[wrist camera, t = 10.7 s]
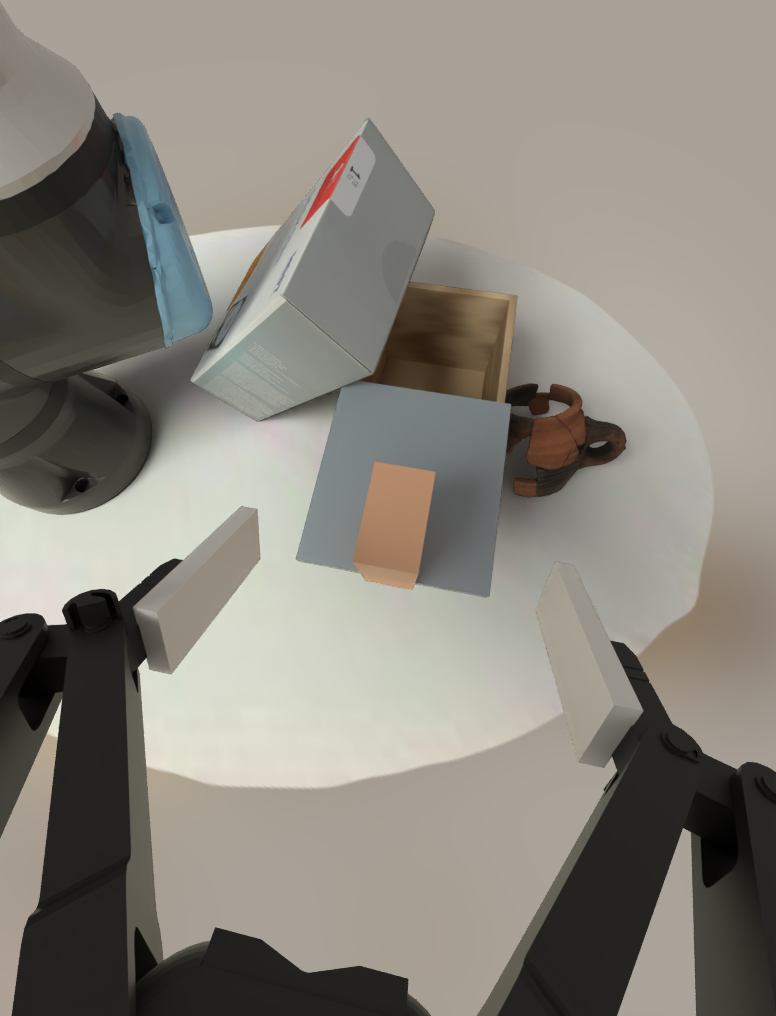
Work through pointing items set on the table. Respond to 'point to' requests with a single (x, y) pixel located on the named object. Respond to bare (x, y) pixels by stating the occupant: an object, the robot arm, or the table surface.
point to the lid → (409, 488)
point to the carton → (450, 342)
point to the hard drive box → (322, 286)
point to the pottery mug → (558, 438)
